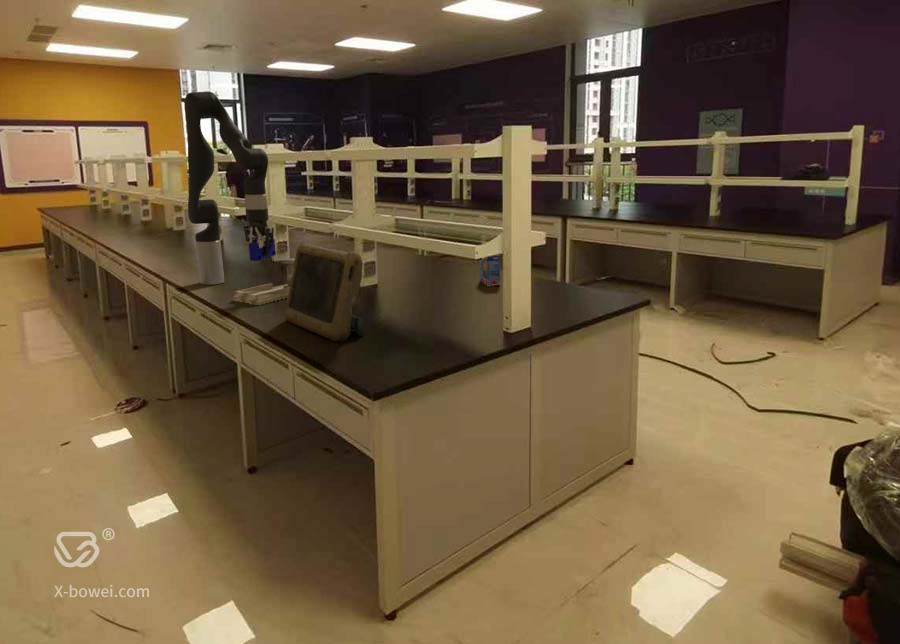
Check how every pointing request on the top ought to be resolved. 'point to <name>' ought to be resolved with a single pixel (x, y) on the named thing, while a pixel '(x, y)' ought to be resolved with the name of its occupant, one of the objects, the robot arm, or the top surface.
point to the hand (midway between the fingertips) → (260, 254)
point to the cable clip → (260, 251)
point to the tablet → (325, 291)
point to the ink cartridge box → (490, 270)
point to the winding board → (266, 289)
